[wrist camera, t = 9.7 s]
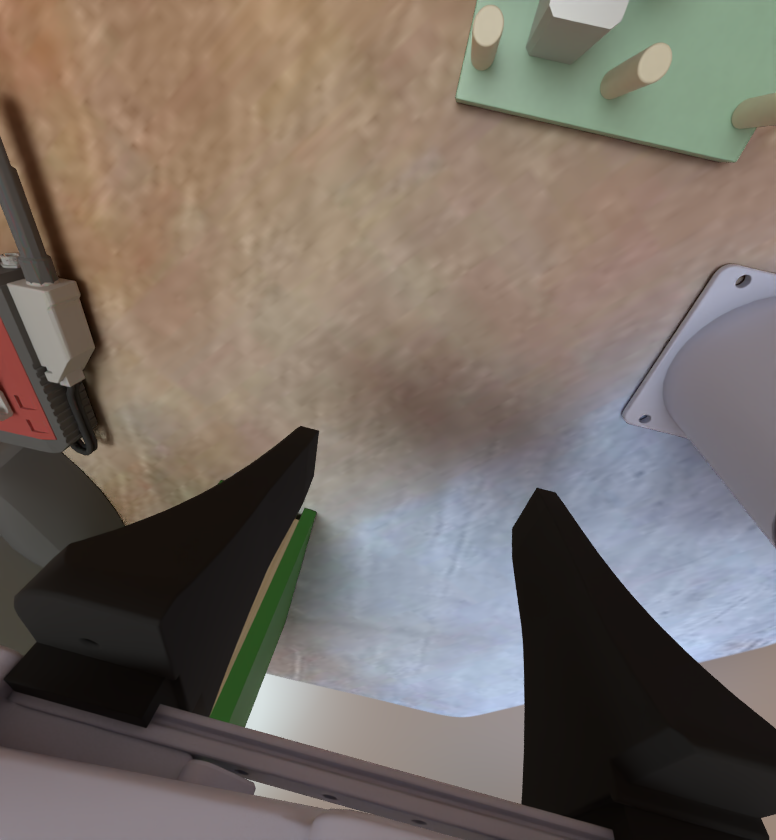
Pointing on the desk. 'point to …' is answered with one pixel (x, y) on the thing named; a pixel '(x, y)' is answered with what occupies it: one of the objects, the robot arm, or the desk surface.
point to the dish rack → (636, 74)
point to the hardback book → (263, 627)
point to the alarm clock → (41, 523)
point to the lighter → (571, 27)
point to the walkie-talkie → (40, 339)
